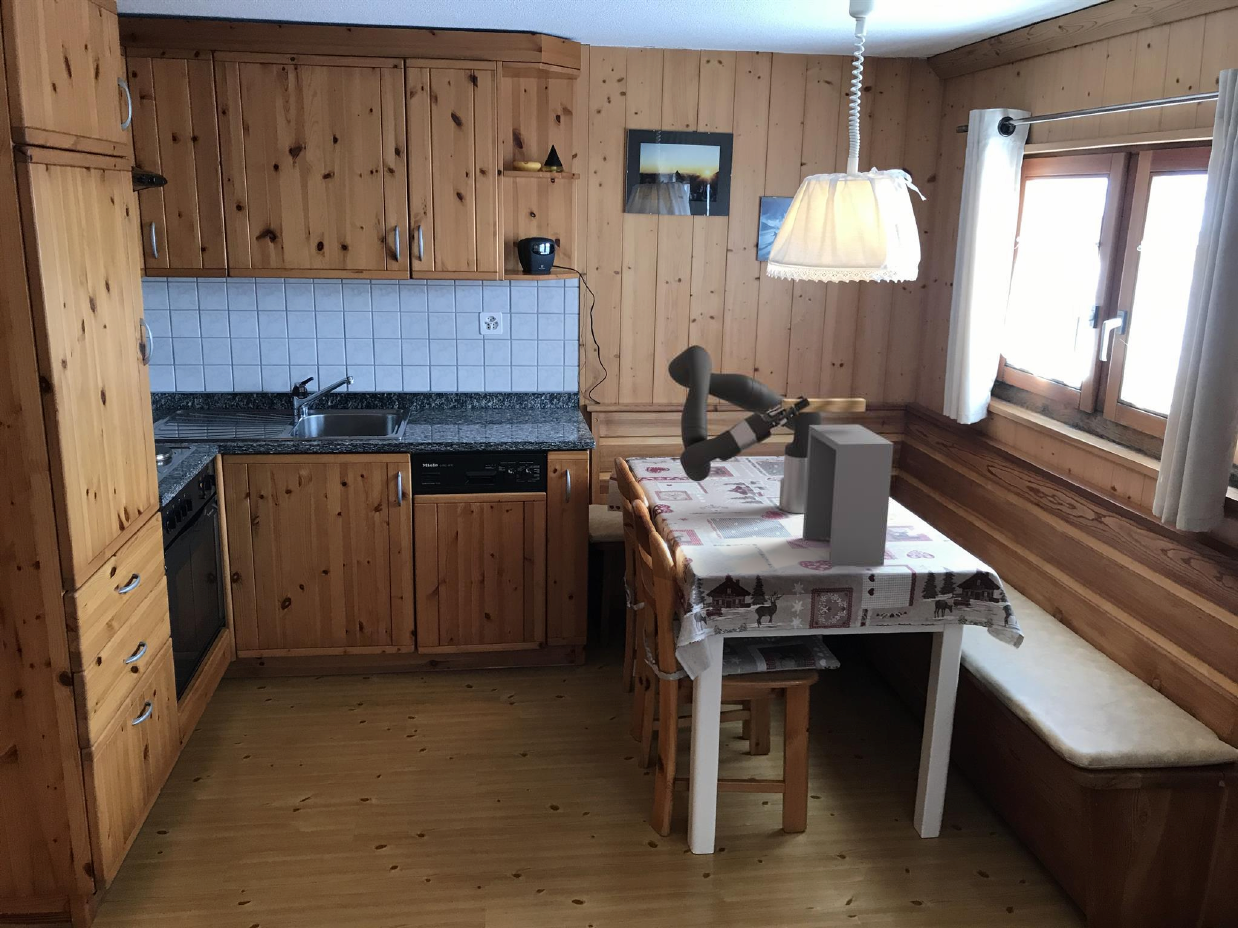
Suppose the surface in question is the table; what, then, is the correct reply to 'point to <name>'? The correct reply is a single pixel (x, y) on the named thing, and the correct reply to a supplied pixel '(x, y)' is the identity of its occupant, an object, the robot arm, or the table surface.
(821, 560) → the table surface
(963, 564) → the table surface
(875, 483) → the gray shelf
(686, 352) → the robot arm
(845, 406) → the wooden rod
